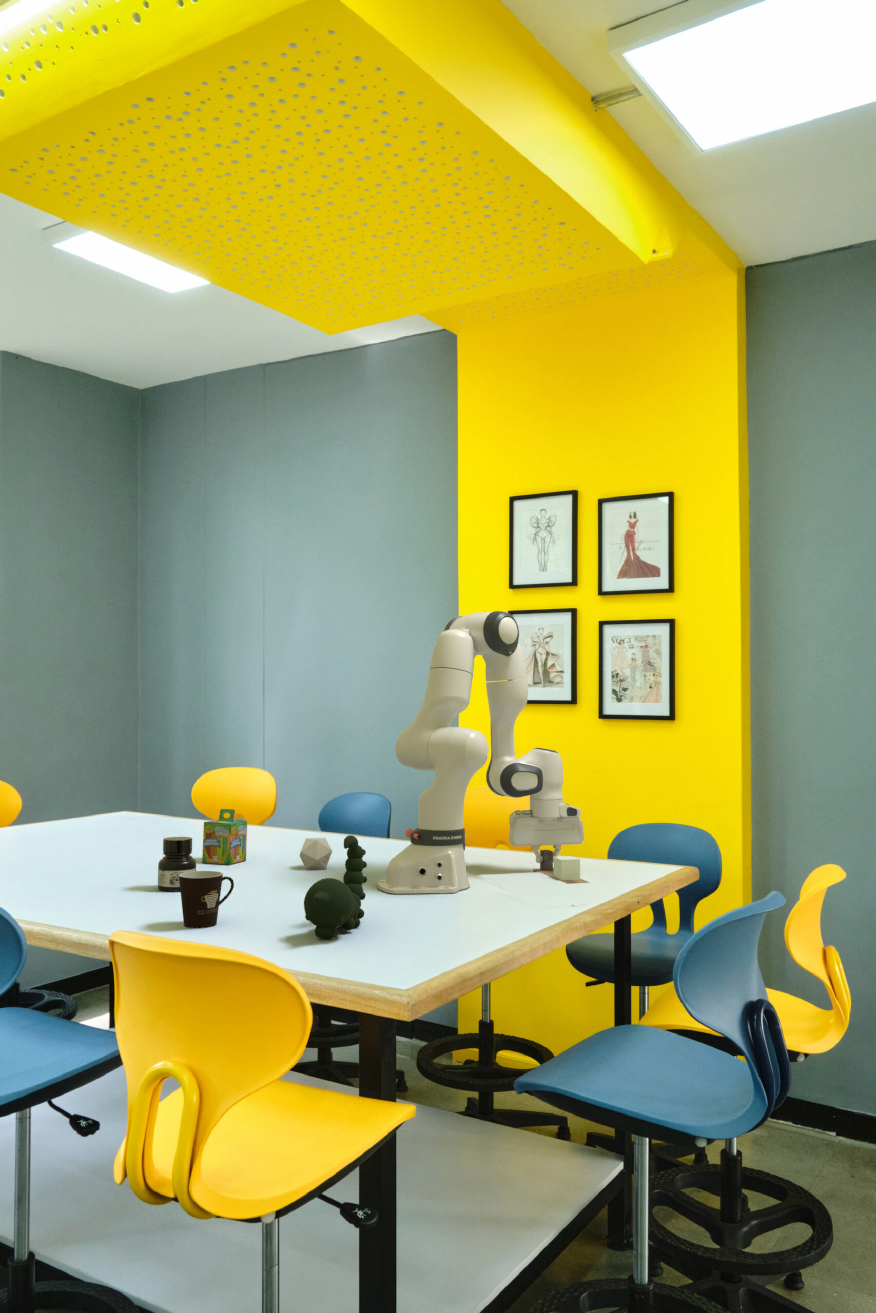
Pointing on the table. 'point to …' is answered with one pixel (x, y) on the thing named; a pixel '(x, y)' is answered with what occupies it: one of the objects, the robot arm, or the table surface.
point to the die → (315, 853)
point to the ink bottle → (175, 862)
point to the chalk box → (224, 840)
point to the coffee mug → (201, 897)
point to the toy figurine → (338, 896)
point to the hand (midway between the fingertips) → (546, 862)
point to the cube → (567, 868)
